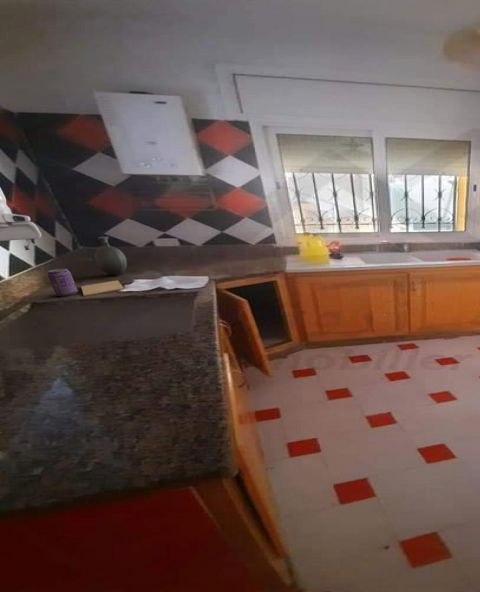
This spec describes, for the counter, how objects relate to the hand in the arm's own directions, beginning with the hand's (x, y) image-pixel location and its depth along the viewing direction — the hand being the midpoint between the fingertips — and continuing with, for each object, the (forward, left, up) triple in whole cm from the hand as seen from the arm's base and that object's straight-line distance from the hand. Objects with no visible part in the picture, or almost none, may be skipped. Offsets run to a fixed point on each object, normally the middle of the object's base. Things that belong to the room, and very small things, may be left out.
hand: (11, 251), depth 135 cm
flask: (+31, +29, -23) cm, 48 cm away
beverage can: (+11, 0, -23) cm, 25 cm away
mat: (+23, +1, -23) cm, 32 cm away
